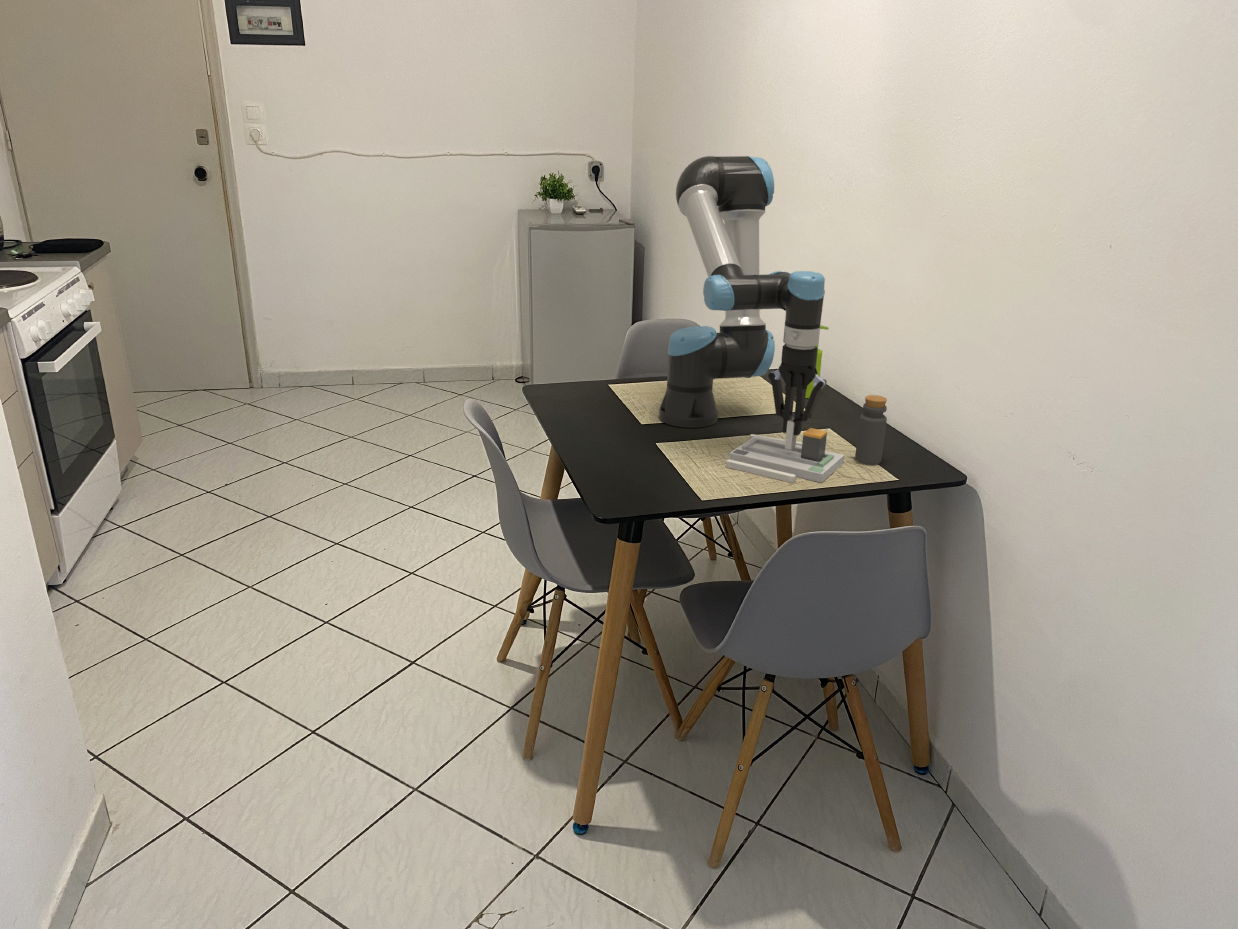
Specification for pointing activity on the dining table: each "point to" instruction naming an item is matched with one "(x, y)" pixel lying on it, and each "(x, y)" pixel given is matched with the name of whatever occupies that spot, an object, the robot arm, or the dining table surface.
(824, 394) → the dining table surface
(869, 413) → the bottle
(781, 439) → the light grey thin bar
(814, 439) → the knob
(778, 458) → the panel
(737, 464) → the light grey long bar
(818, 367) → the soap dispenser
